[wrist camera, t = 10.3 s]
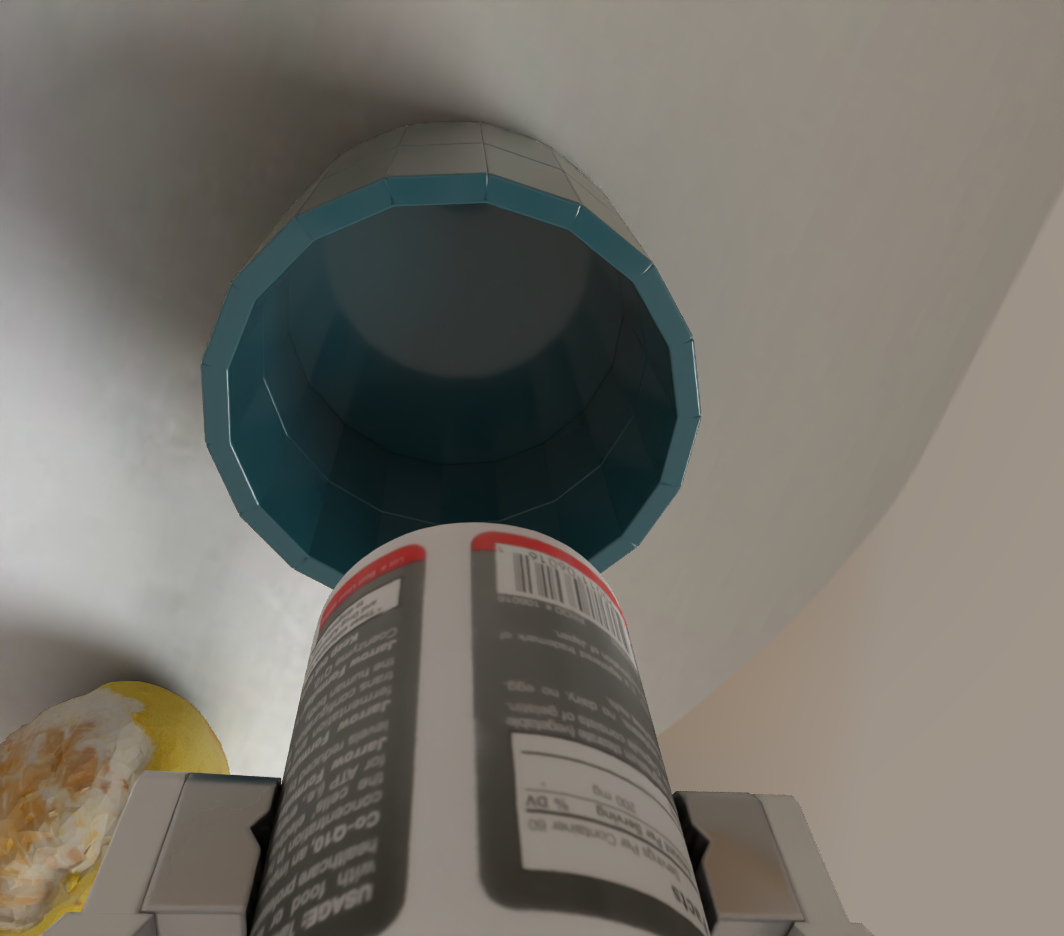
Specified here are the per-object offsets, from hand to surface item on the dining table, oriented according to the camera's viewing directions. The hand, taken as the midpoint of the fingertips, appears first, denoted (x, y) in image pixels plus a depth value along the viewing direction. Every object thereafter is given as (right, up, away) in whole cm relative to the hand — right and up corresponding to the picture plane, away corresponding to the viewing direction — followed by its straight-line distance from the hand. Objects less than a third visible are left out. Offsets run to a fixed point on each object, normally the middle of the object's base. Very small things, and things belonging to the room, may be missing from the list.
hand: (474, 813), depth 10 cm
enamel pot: (-2, +10, +20) cm, 22 cm away
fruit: (-18, -8, +29) cm, 35 cm away
